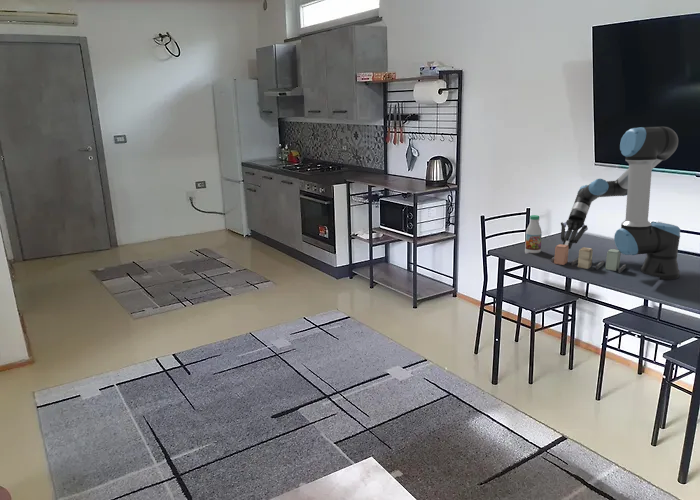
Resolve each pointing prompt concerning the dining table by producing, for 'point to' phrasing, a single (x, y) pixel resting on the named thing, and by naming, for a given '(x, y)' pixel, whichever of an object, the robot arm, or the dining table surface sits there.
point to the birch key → (585, 258)
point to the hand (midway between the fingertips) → (564, 253)
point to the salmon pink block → (561, 254)
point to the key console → (596, 265)
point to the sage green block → (613, 259)
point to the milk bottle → (533, 236)
